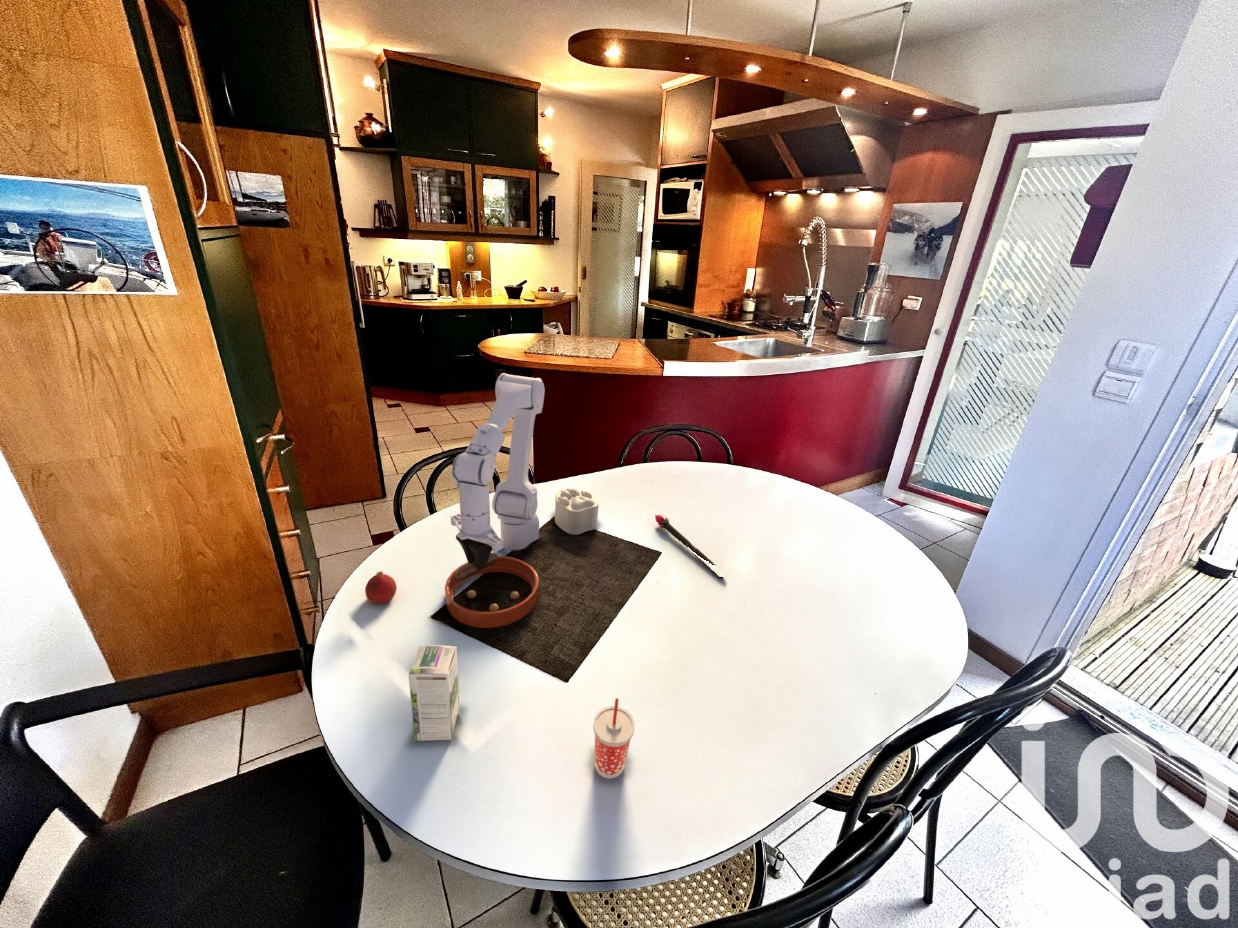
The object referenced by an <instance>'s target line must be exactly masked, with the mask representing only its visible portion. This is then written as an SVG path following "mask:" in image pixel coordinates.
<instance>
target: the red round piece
mask: <svg viewBox="0 0 1238 928" xmlns="http://www.w3.org/2000/svg"><path fill="white" fill-rule="evenodd" d="M397 587H398V586H397V582H396V581H395V579H394V578H393V577H392V576H390V575H388V574H385V573H384V572H383V571H382V570H379V571H376V574H375V575H373V576H372V577H370V579H369V580H368V581H367V583H366V585H365V588H364V593H365V597H366V599H367V600H368V601H369V602H370V603H371V604H375V605H383V604H385V603H388V602H390V601H391V600H392V599H393V598H394V597H395V595H396V592H397Z"/></svg>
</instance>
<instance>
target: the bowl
mask: <svg viewBox="0 0 1238 928" xmlns="http://www.w3.org/2000/svg"><path fill="white" fill-rule="evenodd" d="M468 564H469V563H468V561H467V562H465V563H463V564H461V565H459V566H458V567H457V568H455V569H454V570H453V571H452V572H451V573H450V575H449V576H448V577H447V579H446V582H445V585H444V595H445V596H444V597H445V605H446V609H447V611H448V613H449V614H450V616H451V617H452V618H454V620H456V621H457V622H460V623H461V624H464V625H466V626H469V627H475V628H481V629H483V628H484V629H486V628H487V629H490V628H499V627H503V626H508V625H510V624H513V623H515V622H518V621H519V620H521V619H523V618H524V617H525V616H527V615H529V613H530V612H531V611H532V610H533V608H535V606H536V604H537V602H538V599H539V576H538V574H537V572H536V570H535V569H534V568H533V567H532V566H531V565H530V564H528V563H527V562H526V561H523V560H522V559H518V558H515V557H512V556H506V555H498V560H497V562H496V563H494V564H492V565H490V566H488V567H486V568H485V569H483V570H481V571H479V572H477V573H475V574H473V575H472V576H470V577H468V578H466V579H464V580H458V579H457V578H456V576H455V574H456V571H457V570H458V569H460V568H462V567H464V566H466V565H468ZM489 573H506V574H511V575H514V576H517V577H519V578H521V579H522V580H524V581H525V582H526V583H527V584H528V585H529V587H530V590H531V593H530V594H529V595H528V596H527V597H526V598H525V599H524V600H523V601H520V602H519V603H517V604H516V605H514V606H510V607H507V608H505V609H501V610H499V609H498V610H497V611H494V612H491V611H480V610H479V611H478V610H473V609H469V608H466V607H464V606H461V605H459V604H458V603H457V602H455V600H454V597H455V596H454V595H455V593H456V591H457V590H458V588H459V587H460V586H461V585H463V584H464V583H465V582H466V581H468V580H470V579H472V578H475V577H476V576H480V575H483V574H489Z"/></svg>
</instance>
